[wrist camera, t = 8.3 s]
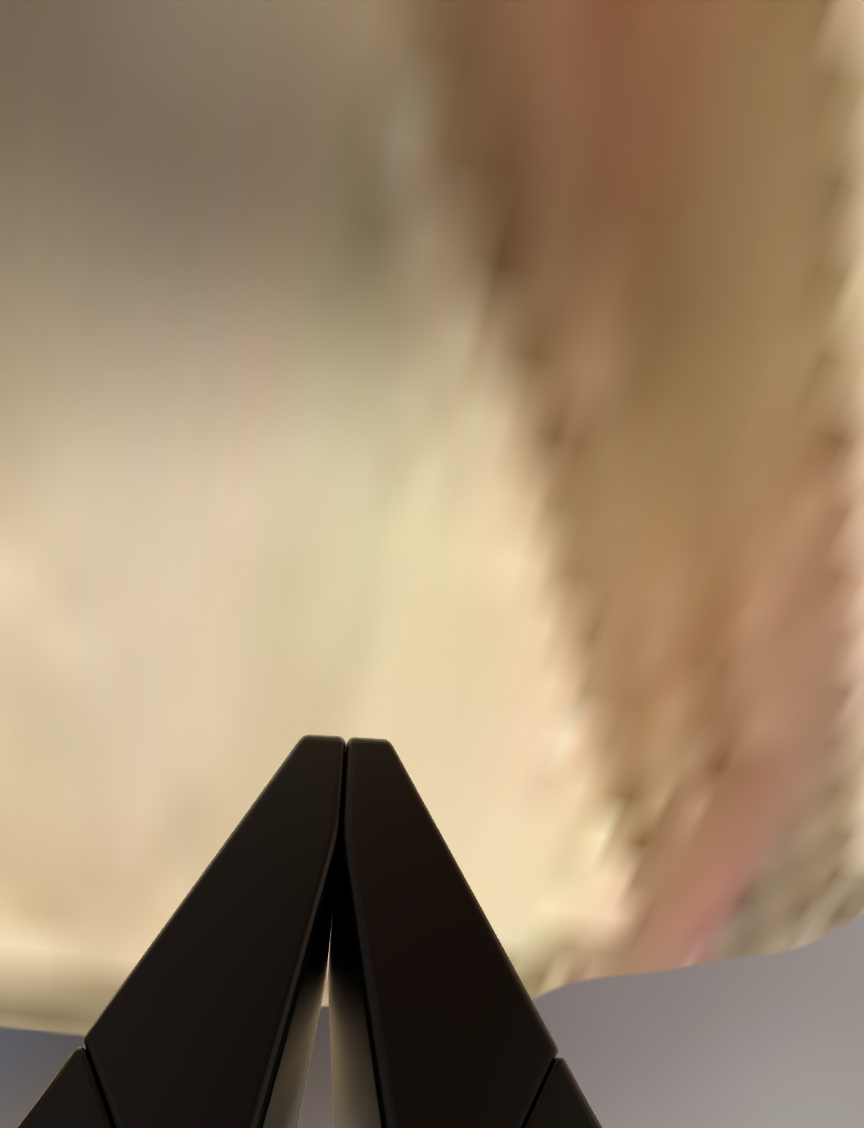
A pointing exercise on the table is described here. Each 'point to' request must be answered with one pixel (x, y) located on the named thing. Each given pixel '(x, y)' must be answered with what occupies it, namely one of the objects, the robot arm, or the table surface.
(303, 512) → the table surface
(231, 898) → the robot arm
